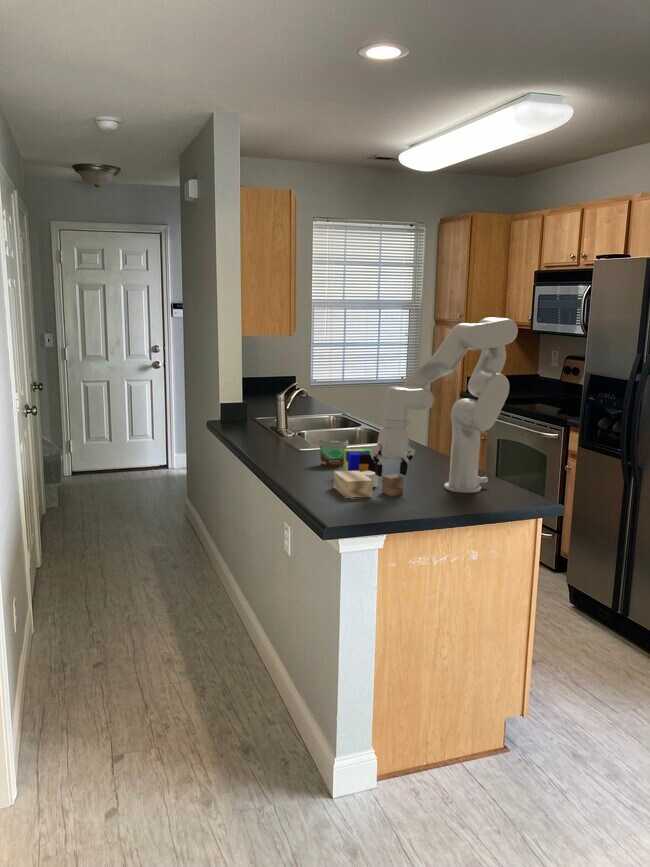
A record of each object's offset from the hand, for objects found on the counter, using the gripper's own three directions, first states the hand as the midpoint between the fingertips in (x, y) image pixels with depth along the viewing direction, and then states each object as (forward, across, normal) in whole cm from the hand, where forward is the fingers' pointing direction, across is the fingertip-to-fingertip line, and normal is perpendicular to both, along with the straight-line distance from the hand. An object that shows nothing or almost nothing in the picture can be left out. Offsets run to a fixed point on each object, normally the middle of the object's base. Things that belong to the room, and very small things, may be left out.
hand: (390, 474), depth 238 cm
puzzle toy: (+7, -1, -22) cm, 23 cm away
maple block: (+7, +11, -6) cm, 14 cm away
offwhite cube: (+7, +2, -11) cm, 13 cm away
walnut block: (+6, -1, 0) cm, 7 cm away
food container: (+7, -2, -43) cm, 43 cm away
